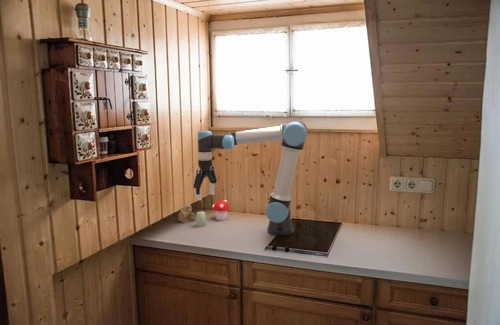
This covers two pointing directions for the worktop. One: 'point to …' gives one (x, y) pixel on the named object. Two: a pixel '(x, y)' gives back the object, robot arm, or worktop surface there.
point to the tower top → (186, 210)
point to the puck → (201, 219)
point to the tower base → (186, 217)
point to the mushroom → (221, 209)
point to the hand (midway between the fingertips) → (205, 197)
